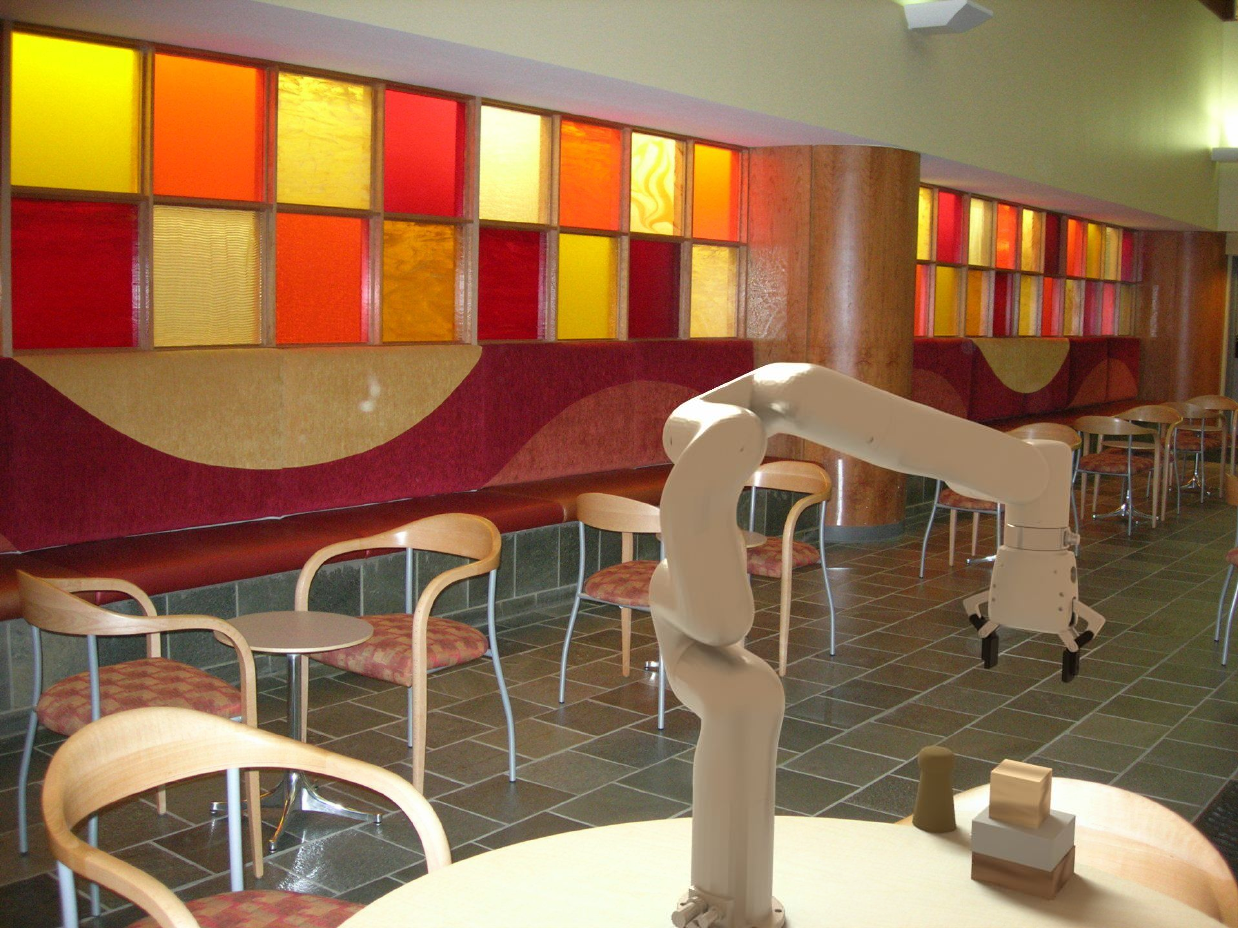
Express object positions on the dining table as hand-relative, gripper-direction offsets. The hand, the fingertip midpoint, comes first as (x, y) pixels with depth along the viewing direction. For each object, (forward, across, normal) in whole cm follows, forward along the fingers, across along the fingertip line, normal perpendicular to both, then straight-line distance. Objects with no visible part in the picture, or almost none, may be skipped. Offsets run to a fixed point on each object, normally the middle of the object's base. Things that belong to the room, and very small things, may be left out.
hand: (1028, 673), depth 150 cm
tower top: (+23, 0, 0) cm, 23 cm away
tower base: (+27, 0, 0) cm, 27 cm away
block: (+19, 0, 0) cm, 19 cm away
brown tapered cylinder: (+26, +15, -9) cm, 32 cm away
